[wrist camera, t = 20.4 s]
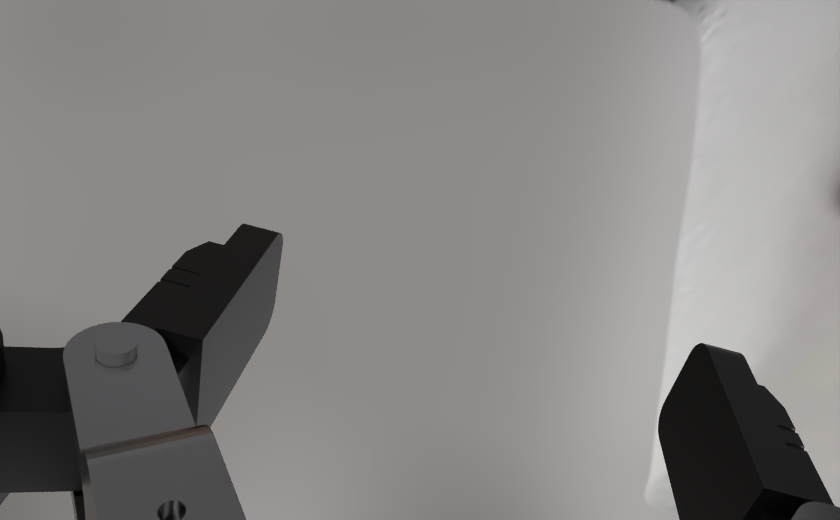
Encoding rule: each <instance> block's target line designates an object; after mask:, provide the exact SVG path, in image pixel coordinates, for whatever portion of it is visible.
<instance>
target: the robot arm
mask: <svg viewBox="0 0 840 520" xmlns="http://www.w3.org/2000/svg"><path fill="white" fill-rule="evenodd" d="M282 245H283V237H282V234H281V233H278V232H274V231H270V230H266V229H263V228H259V227H254V226H251V225H247V224H242V225H241V226H240V227H239V228H238V229H237V230H236V232H235V233H234V234H233V235H232V236H231V238H230V239H229V240H228V241H227V242H226V244H225V245H221V244H217V243H213V242H207V243H204V244H202V245H200V246H198V247H195V248H193V249H191V250H188V251H186V252H185V253H184V254H183V255H182V256H181V258H180V259H179V260H178V261H177V262H176V263H175V264H174V265H173V266H172V269H169V270H168V271H167V273H166V274H165V275H164V276H163V277H162V278H161V281H160V282H157V283H156V284H155V285H154V287H153V288H152V289H151V290H150V291H149V292H148V293H147V294H146V295H145V296H144V297H143V298H142V299H141V301H140V302H139V303H138V304H137V305H136V306H135V307H134V308H133V309H132V310H131V311H130V312H129V314H128V315H127V316H126V317H125V318H124V319H123V320H122V321H121V322H111V323H104V324H99V325H96V326H92V327H89V328H87V329H84V330H83V331H81V332H79V333H77V334H76V335H75V336H73V337H72V338H71V339H70V341H69V342H68V343H67V344H66V346H65V347H63V348H33V347H4V344H3V335H2V332H1V330H0V505H1V503H2V502H3V501H4V499H5V498H6V497H7V496H8V494H9V493H11V492H54V491H55V492H56V491H71V497H72V504H73V510H74V516H75V520H246V518H245V515H244V512H243V510H242V507H241V504H240V502H239V499H238V497H237V494H236V491H235V489H234V486H233V483H232V481H231V478H230V476H229V473H228V470H227V468H226V465H225V463H224V460H223V457H222V455H221V452H220V449H219V447H218V444H217V442H216V439H215V437H214V434H213V432H212V431H211V428H210V427H211V425H212V423H213V422H214V420H215V418H216V416H217V415H218V413H219V411H220V410H221V408H222V406H223V404H224V403H225V401H226V399H227V397H228V396H229V394H230V392H231V391H232V389H233V387H234V385H235V384H236V382H237V380H238V379H239V377H240V375H241V373H242V372H243V370H244V368H245V366H246V365H247V363H248V361H249V360H250V358H251V356H252V354H253V353H254V351H255V349H256V348H257V346H258V344H259V342H260V340H261V339H262V337H263V335H264V334H265V332H266V330H267V327H268V325H269V322H270V319H271V316H272V313H273V309H274V304H275V297H276V290H277V283H278V275H279V268H280V260H281V253H282ZM658 434H659V439H660V443H661V447H662V451H663V455H664V459H665V463H666V467H667V471H668V475H669V479H670V483H671V487H672V491H673V495H674V499H675V503H676V507H677V511H678V515H679V519H680V520H840V508H839V507H836V506H834V504H833V502H832V500H831V498H830V496H829V494H828V492H827V490H826V488H825V486H824V484H823V482H822V480H821V478H820V476H819V474H818V473H817V471H816V469H815V467H814V465H813V463H812V461H811V459H810V457H809V455H808V453H807V451H804V445H803V443H802V441H801V439H800V437H799V435H798V434H797V433H795V427H794V425H793V423H792V421H791V419H790V417H789V416H788V414H787V412H786V410H785V408H784V407H783V406H782V405H781V404H780V402H779V401H778V400H777V399H776V398H775V397H774V396H773V395H772V394H771V393H770V392H769V391H768V390H767V389H766V388H765V387H764V386H761V385H758V384H757V382H756V380H755V378H754V376H753V374H752V372H751V369H750V367H749V365H748V363H747V361H746V359H745V357H744V356H743V355H742V354H741V353H738V352H734V351H730V350H726V349H722V348H719V347H715V346H711V345H707V344H703V343H700V344H698V345H696V346H695V347H694V348H693V350H692V351H691V353H690V354H689V356H688V358H687V360H686V362H685V364H684V366H683V368H682V370H681V372H680V374H679V375H678V377H677V379H676V381H675V383H674V385H673V387H672V389H671V391H670V393H669V394H668V396H667V398H666V400H665V402H664V404H663V407H662V409H661V413H660V417H659V424H658Z"/></svg>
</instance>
